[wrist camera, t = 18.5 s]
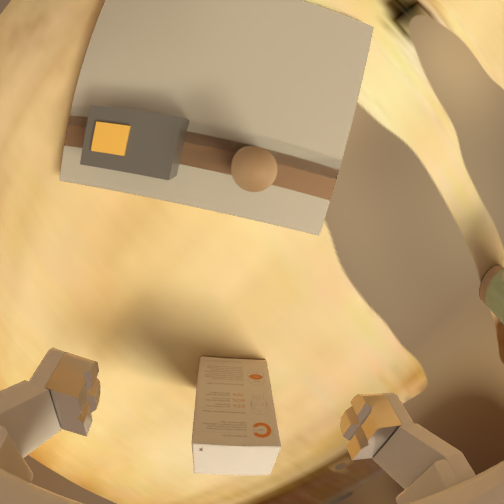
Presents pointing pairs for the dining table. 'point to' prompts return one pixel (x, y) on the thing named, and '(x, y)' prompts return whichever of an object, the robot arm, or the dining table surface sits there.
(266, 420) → the small box
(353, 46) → the floor panel
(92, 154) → the grey rectangular block
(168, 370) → the dining table surface
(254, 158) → the peg
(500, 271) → the coffee cup
